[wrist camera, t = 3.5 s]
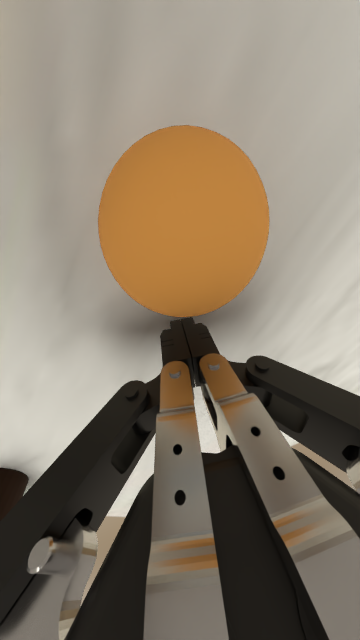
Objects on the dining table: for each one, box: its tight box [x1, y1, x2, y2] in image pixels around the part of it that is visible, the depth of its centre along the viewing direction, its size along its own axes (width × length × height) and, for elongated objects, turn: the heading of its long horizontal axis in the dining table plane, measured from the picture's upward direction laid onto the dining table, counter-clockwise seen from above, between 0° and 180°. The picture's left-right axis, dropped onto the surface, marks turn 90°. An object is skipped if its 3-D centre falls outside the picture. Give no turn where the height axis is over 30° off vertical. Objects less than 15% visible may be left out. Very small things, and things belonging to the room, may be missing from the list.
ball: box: [98, 125, 269, 317], centre depth 7 cm, size 6×6×6 cm
